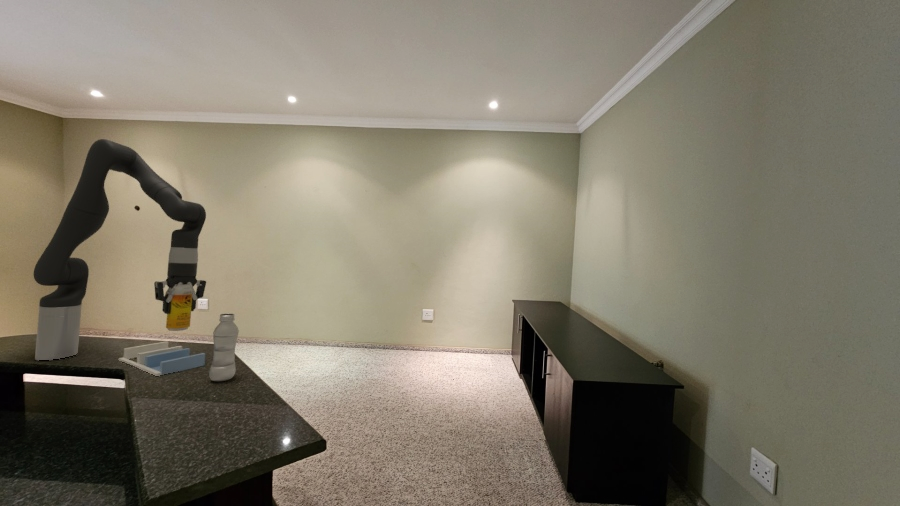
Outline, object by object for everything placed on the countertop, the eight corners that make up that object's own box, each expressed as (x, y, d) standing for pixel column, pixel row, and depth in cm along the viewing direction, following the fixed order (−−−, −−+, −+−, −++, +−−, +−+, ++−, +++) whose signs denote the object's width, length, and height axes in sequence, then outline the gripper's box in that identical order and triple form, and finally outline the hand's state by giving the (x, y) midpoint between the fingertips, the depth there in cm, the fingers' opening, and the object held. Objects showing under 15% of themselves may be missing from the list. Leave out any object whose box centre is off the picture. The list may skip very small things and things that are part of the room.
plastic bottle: (204, 380, 100) (209, 314, 100) (227, 374, 106) (232, 311, 106) (215, 385, 97) (221, 317, 97) (239, 379, 103) (244, 314, 103)
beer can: (179, 331, 106) (183, 285, 106) (160, 330, 106) (164, 283, 106) (194, 327, 112) (197, 283, 112) (176, 326, 112) (180, 282, 112)
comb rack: (118, 361, 110) (119, 349, 111) (165, 352, 122) (166, 341, 122) (156, 376, 100) (157, 363, 100) (204, 365, 112) (205, 353, 112)
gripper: (200, 261, 117) (197, 308, 117) (150, 260, 104) (146, 313, 104) (213, 262, 114) (209, 311, 114) (162, 261, 101) (158, 316, 101)
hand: (179, 312), depth 109 cm, fingers closed on beer can, 6 cm apart
